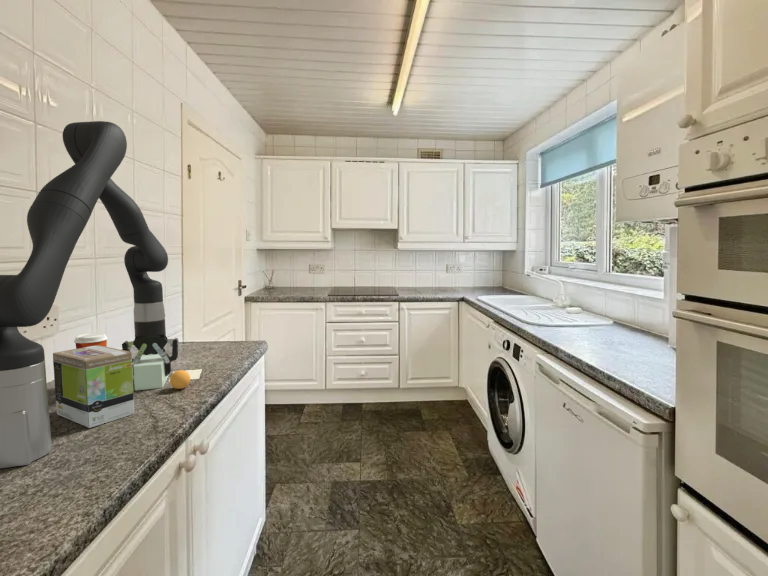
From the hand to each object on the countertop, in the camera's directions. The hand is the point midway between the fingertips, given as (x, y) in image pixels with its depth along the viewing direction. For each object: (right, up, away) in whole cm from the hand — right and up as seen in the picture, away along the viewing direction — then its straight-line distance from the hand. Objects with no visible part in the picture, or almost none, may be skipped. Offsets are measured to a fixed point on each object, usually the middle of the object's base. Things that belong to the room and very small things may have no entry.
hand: (152, 376), depth 118 cm
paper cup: (-15, -2, -2) cm, 15 cm away
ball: (+10, 0, -5) cm, 11 cm away
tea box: (-1, -4, -22) cm, 23 cm away
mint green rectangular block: (0, -2, 0) cm, 2 cm away
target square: (+6, -1, +7) cm, 9 cm away
